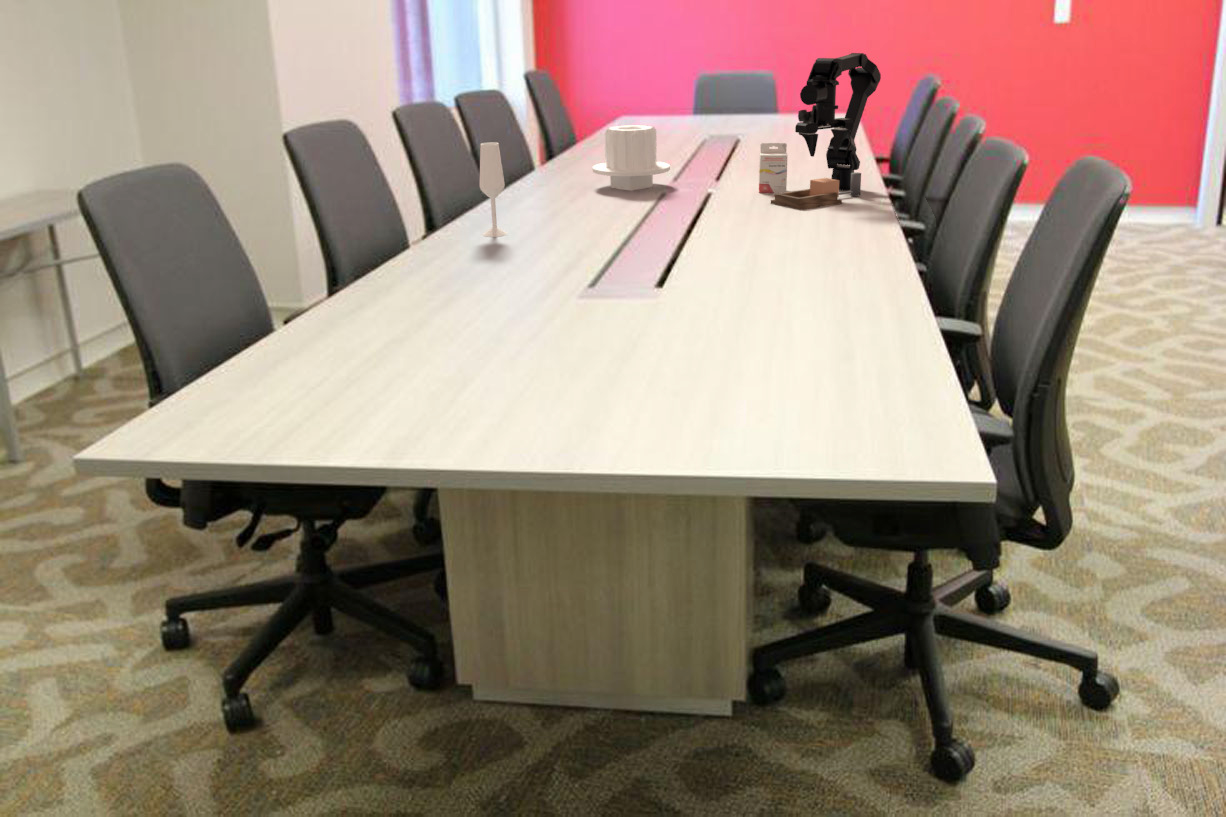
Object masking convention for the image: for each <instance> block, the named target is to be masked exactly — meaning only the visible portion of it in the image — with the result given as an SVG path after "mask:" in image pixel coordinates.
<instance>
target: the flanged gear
mask: <svg viewBox="0 0 1226 817" xmlns="http://www.w3.org/2000/svg"><path fill="white" fill-rule="evenodd" d="M604 145H605V146H604V151H605V154H604V156H605V162H602V163H596V164H595V165H592V173H594V174H596V175H601V176H607V177H608V176H609V177H610V179H609V181H610V188H611V189H617V190H623V191H626V192H627V191H628V192H634V191H639V190H644V189H650V188H653V186H654V185H653V184H654V183H653V178H654V177H653V175H659V174H660V175H661V174H665V173H668V172H669V171H671V164H669V163H667V162H663V161H657V160H658V158H657V129H656V128H655V127H654V126H650V125H642V124H640V125H639V124H636V125H635V124H632V125H628V124H627V125H617V126H616V125H615V126H610V127H607V128H606V129H605V132H604Z"/></svg>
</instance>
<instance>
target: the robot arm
mask: <svg viewBox="0 0 1226 817" xmlns="http://www.w3.org/2000/svg"><path fill="white" fill-rule="evenodd" d="M846 71H848V73H847V74H848V76H849V79H850V87H851V89H852V92H851V93H852V94H851V96H850V100H849V103H848V107H847V109H846V113H845V114H844V117H839V118H838V117H837V118H836V110H838V109H839V105H837V104H836V100H837V99H836V98H837V96H836V95H837V86H839V85H840V82H839V80H837V78H838V77H840V76H841V75H842V73H843V72H846ZM881 76H882V75H881V72H880V70H879V67H878V65H877V64H875V62H873V61H871V59H869V58H868V56H867V54H865V53H863V52H851V53H849V54H846V55H843V56H839V57H829V58H828V57H818V58H817V59H815V61H814V63H813V65H812V68H811V70H810V73H809V75H808V78H807V80H806V85H804V86H802V89H801V90H800V94H799V95H800V96H799V97H800V100H801V102H802V103H803V104H805V105H806V106H811V105H812V108H811V109H812V110H811V111H807V109H801V110H799V111H798V113H797V114H798V115H797V118H798V122H797V123H796V124H795V128H794V129H795V130H794V132H795V133H798V135H799V136H801V137H802V138H803V139H804V141H805V142H806V147H807V148H808V152H809V155H810V157H812V158H813V157H815V154H816V149H817V144H818V138H819V133H817V132H818V131H819V130H826V129H830V131H831V133H832V135H833V136H832V137H831V138H830V140H829V145H828V147H827V151H826V153H825V154H826V155H825V157H826V164H827V169H832V173H831V178H830V179H835V180H839V191H848V190H850V187H851V173H855V171H858V170H859V169H860V165H861V161H860V159H859V157H858V155H857V146H856V143H855V138H856V135H857V133H858V129H859V126H860V123H861V119H862V117H863V114H864V110H865V107H866V104H867V102H868V99H869V97H870V96H871V95H873V93H874V92H876V90H877V88H878V86H879V83H880V82H881Z"/></svg>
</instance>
